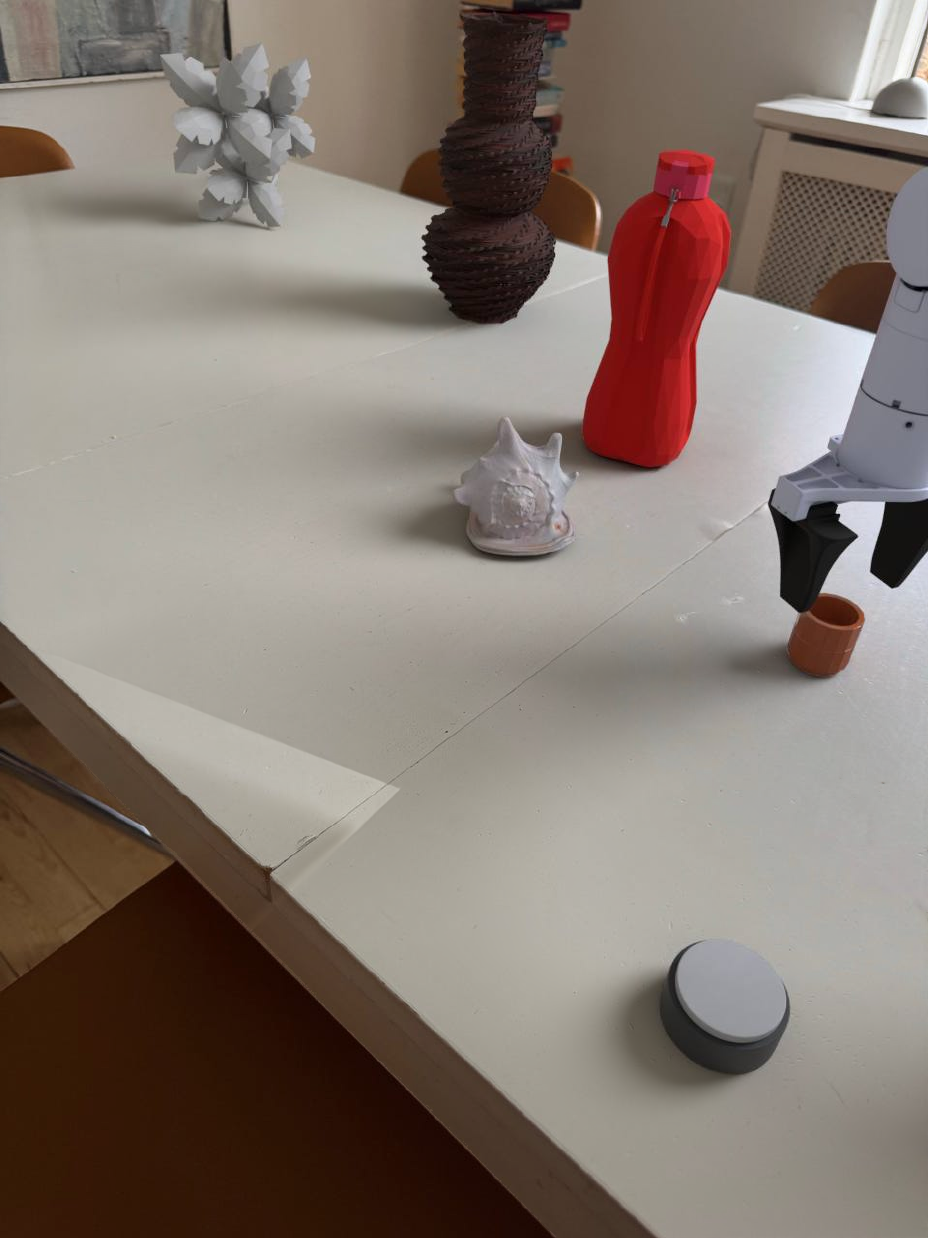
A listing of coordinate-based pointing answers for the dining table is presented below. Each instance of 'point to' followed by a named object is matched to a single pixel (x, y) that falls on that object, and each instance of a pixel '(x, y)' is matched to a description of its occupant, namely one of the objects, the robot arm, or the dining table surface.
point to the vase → (494, 176)
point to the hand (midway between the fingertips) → (839, 591)
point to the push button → (724, 1006)
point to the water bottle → (657, 314)
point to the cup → (825, 635)
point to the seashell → (517, 497)
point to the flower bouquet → (239, 129)
